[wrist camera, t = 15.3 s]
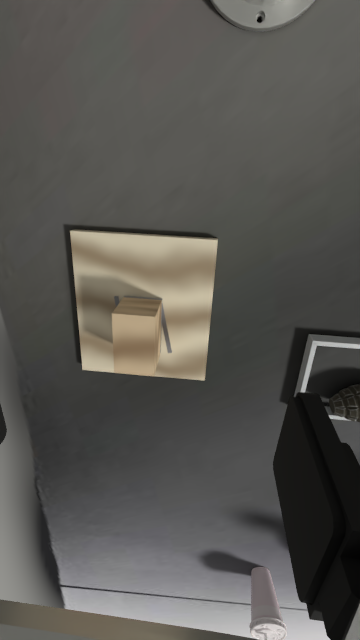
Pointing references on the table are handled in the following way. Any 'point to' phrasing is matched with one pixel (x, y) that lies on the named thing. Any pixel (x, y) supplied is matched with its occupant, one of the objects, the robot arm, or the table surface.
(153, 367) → the block
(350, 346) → the parts frame
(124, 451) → the table surface
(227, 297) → the table surface
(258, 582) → the smoothie
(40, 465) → the table surface
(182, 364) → the board
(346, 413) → the grenade
